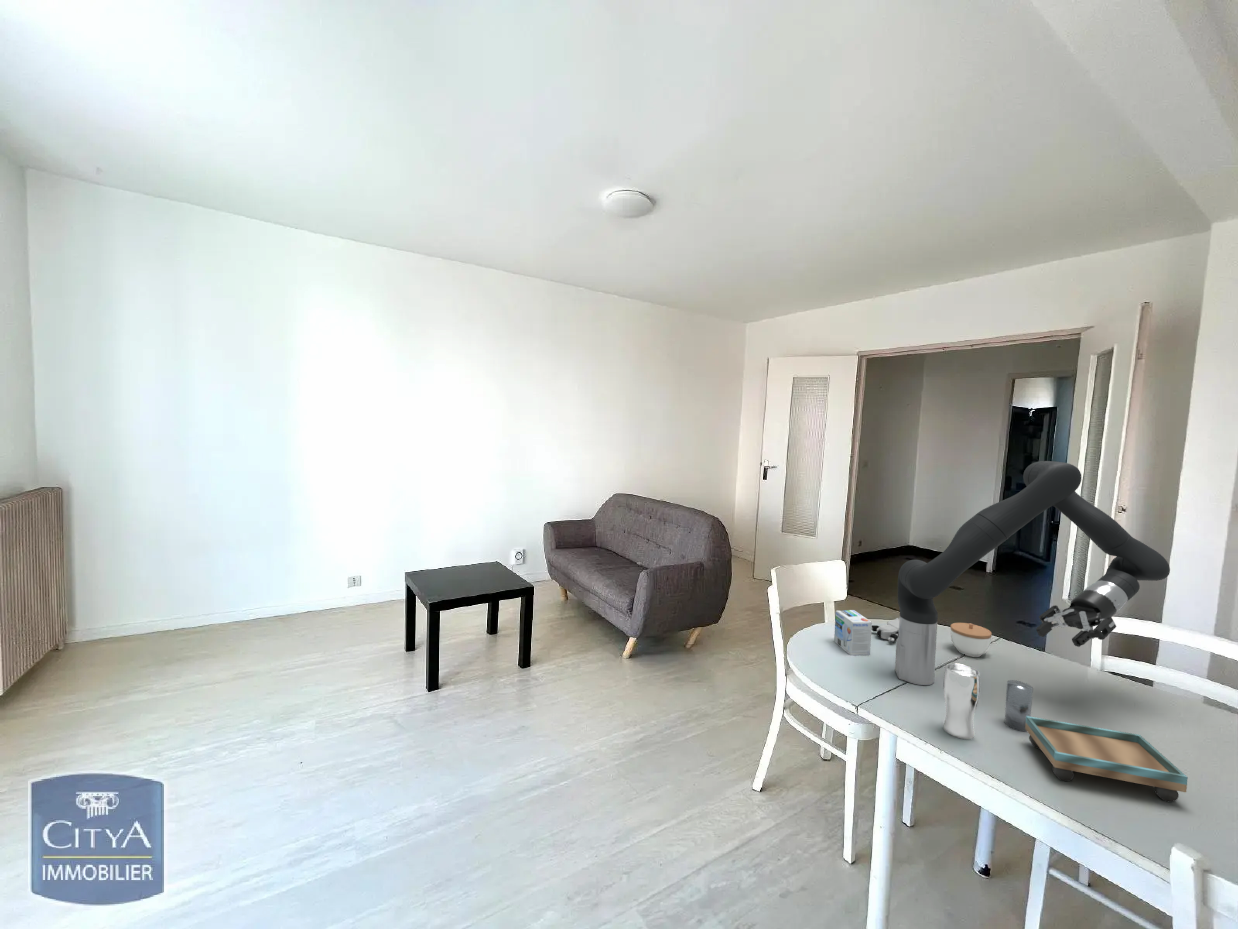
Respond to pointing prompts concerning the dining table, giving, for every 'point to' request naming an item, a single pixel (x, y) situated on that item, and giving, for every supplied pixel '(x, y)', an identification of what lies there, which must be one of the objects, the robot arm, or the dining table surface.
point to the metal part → (1018, 704)
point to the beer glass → (961, 699)
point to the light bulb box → (853, 632)
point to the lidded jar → (970, 639)
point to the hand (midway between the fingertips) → (1056, 638)
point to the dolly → (1105, 755)
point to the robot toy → (888, 630)
